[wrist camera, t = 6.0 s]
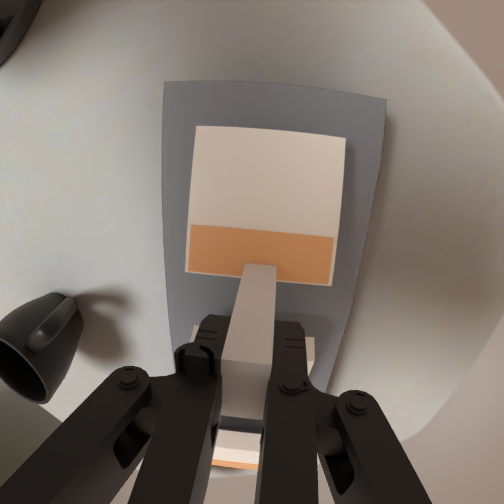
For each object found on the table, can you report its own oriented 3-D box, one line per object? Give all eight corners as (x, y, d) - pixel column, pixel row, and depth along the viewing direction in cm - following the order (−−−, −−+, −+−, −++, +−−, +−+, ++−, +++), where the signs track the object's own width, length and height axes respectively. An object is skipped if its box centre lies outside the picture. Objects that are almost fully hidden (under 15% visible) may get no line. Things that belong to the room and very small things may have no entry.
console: (188, 87, 20) (161, 81, 15) (368, 102, 19) (394, 100, 14) (196, 418, 34) (186, 455, 29) (300, 429, 33) (301, 467, 28)
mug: (129, 311, 28) (83, 382, 19) (72, 354, 32) (33, 411, 23) (70, 245, 26) (4, 299, 17) (25, 302, 30) (-24, 352, 21)
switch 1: (203, 418, 24) (198, 445, 22) (288, 427, 23) (287, 454, 21) (209, 442, 28) (205, 463, 26) (278, 449, 28) (277, 471, 26)
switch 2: (206, 135, 17) (195, 125, 14) (336, 146, 16) (346, 137, 14) (196, 263, 18) (184, 272, 15) (323, 275, 17) (332, 286, 15)
